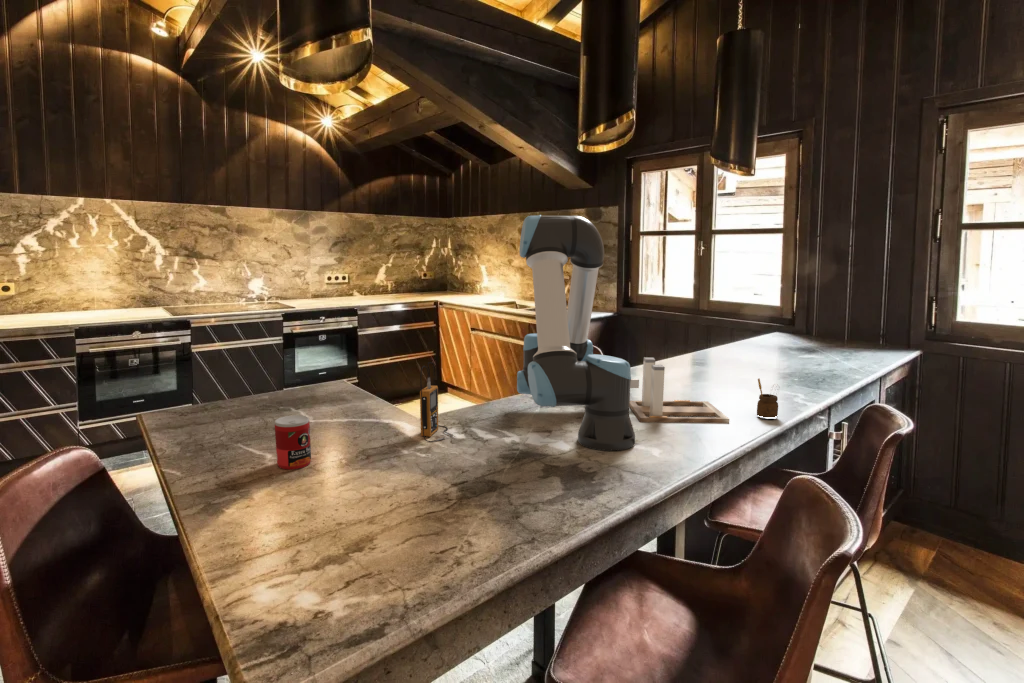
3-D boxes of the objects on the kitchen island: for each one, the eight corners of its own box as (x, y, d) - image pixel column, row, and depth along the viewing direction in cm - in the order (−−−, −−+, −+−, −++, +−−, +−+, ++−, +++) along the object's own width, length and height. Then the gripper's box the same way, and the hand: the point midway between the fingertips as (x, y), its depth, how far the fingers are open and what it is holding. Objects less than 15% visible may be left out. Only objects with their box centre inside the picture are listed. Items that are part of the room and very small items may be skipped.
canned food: (291, 472, 132) (289, 426, 130) (269, 465, 136) (267, 420, 134) (318, 462, 138) (316, 418, 137) (297, 456, 143) (294, 413, 141)
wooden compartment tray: (639, 425, 169) (640, 416, 168) (627, 407, 189) (628, 399, 188) (728, 426, 168) (729, 417, 168) (707, 408, 188) (707, 400, 188)
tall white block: (643, 408, 183) (645, 359, 180) (641, 405, 186) (643, 357, 184) (653, 408, 183) (655, 359, 180) (650, 406, 186) (653, 357, 184)
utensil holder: (774, 421, 174) (777, 383, 172) (753, 418, 177) (755, 380, 176) (779, 417, 178) (782, 379, 176) (758, 413, 182) (760, 376, 180)
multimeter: (451, 444, 152) (450, 370, 149) (415, 441, 154) (414, 368, 151) (466, 427, 166) (466, 360, 163) (433, 425, 168) (432, 358, 165)
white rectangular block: (652, 419, 171) (654, 366, 168) (649, 416, 174) (651, 364, 172) (662, 419, 171) (664, 367, 168) (659, 416, 174) (661, 364, 172)
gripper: (563, 389, 191) (634, 390, 191) (566, 399, 178) (642, 399, 178) (563, 367, 190) (634, 367, 190) (566, 375, 177) (643, 376, 177)
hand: (638, 383), depth 184 cm, fingers closed
